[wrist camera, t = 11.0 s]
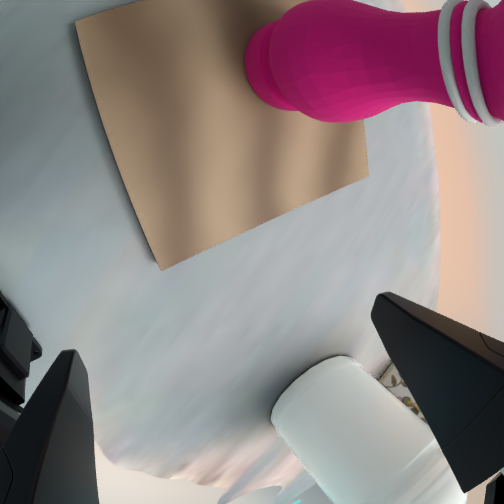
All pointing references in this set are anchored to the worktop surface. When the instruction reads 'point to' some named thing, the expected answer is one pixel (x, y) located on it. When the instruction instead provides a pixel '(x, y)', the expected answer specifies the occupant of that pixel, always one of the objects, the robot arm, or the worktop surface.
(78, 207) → the worktop surface
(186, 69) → the tan cloth
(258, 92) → the pepper mill
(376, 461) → the bottle
